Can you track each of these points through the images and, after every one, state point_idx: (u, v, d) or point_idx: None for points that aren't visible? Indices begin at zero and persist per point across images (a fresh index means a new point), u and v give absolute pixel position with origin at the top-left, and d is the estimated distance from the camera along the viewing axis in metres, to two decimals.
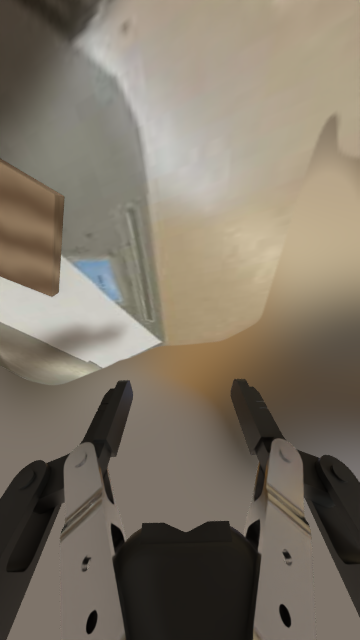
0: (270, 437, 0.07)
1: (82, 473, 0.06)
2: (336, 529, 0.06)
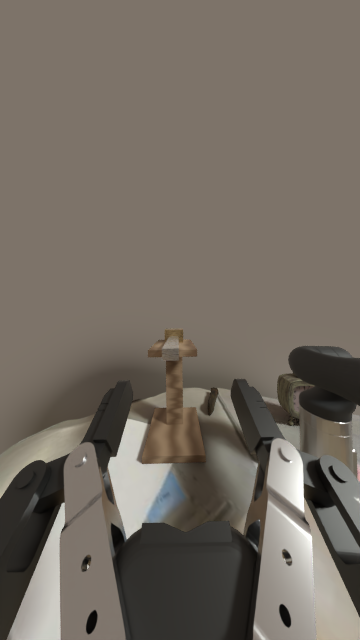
0: (270, 437, 0.07)
1: (82, 473, 0.06)
2: (336, 529, 0.06)
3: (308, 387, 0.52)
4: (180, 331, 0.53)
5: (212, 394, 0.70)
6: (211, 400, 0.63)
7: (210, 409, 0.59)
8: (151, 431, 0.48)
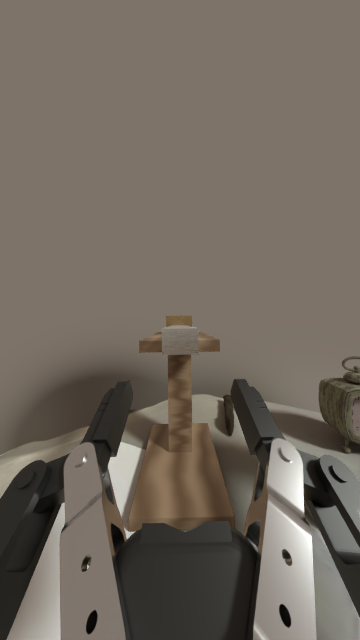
0: (270, 437, 0.07)
1: (82, 473, 0.06)
2: (336, 529, 0.06)
3: None
4: (188, 318, 0.38)
5: (228, 404, 0.54)
6: (230, 414, 0.47)
7: (231, 427, 0.43)
8: (146, 464, 0.33)
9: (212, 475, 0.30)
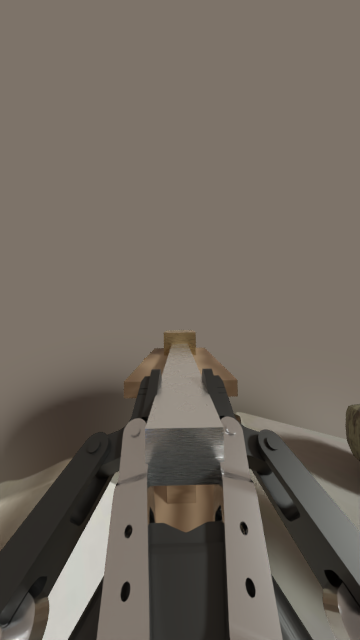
0: (221, 416, 0.08)
1: (140, 442, 0.07)
2: (279, 491, 0.07)
3: None
4: (191, 335, 0.31)
5: None
6: None
7: None
8: None
9: None
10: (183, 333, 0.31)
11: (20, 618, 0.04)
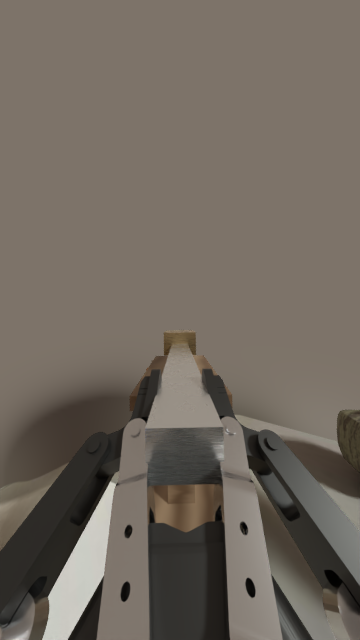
0: (221, 416, 0.08)
1: (140, 442, 0.07)
2: (279, 491, 0.07)
3: None
4: (191, 335, 0.31)
5: None
6: None
7: None
8: None
9: None
10: (183, 333, 0.31)
11: (20, 618, 0.04)
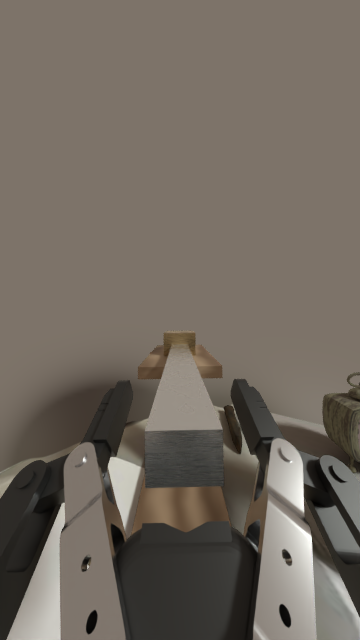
0: (270, 437, 0.07)
1: (82, 473, 0.06)
2: (336, 529, 0.06)
3: None
4: (191, 336, 0.31)
5: (231, 416, 0.53)
6: (237, 429, 0.46)
7: (240, 444, 0.42)
8: None
9: (214, 500, 0.29)
10: (183, 333, 0.31)
11: None
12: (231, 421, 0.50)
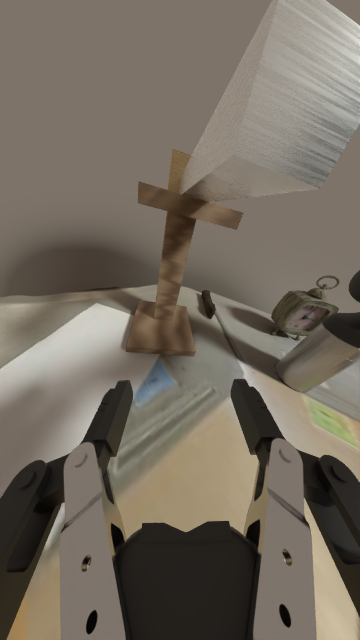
0: (270, 437, 0.07)
1: (82, 473, 0.06)
2: (336, 529, 0.06)
3: (315, 308, 0.47)
4: None
5: (208, 297, 0.62)
6: (212, 304, 0.56)
7: (213, 313, 0.54)
8: (136, 322, 0.41)
9: (185, 334, 0.42)
10: None
11: None
12: (208, 300, 0.60)
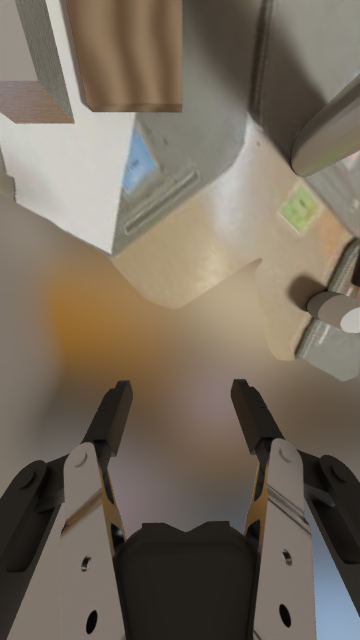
0: (270, 437, 0.07)
1: (82, 473, 0.06)
2: (336, 529, 0.06)
3: None
4: None
5: None
6: None
7: None
8: (73, 8, 0.22)
9: (169, 41, 0.23)
10: None
11: None
12: None
